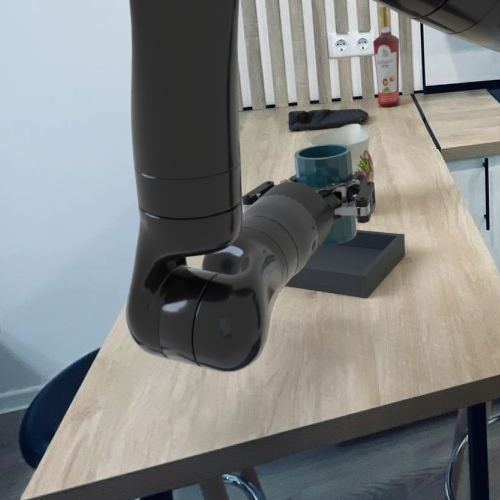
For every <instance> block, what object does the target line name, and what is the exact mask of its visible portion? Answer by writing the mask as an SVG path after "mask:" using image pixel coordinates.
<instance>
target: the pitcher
mask: <svg viewBox="0 0 500 500" xmlns="http://www.w3.org/2000/svg"><path fill="white" fill-rule="evenodd" d="M370 137H371V135H370V133H369V132H368V131H367V130H365V129H363V128H362V125H361V124H359V123H357V124H349V125H346V126H343V127H338V128H336V129H332V130H328V131H325V132H322V133H319V134H318V135H315V136H314V137H312V138H311V139H310V140H309V147H310V146H316V145H324V144H341V145H346V146H348V147H350V148H351V155H352V170H353V175H354V173H355V172H356V171H363V174H364V175H367V181H371V182H374V181H375V180H374V179H375V178H374V177H375V172H374V171H375V170H374V163H373V160H372V156H371V154H370V152H369V143H370V139H371V138H370Z"/></svg>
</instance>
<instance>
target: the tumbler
mask: <svg viewBox="0 0 500 500" xmlns="http://www.w3.org/2000/svg"><path fill="white" fill-rule="evenodd" d="M293 158H294V168H295V174H296V179H297V183H302V184H305V185H307V186H309V187H311V188H314V187H322V186H325V185H327V184H330V183H333V182H340V183H345V182H347V181H348V180H349V179H350V178H351V177H352V176H353V170H352V155H351V148H350V147H348V146H346V145H341V144H324V145H316V146H310V145H309V146H307V147H304V148H300V149H299V150H296V151H295V152H294V154H293ZM332 194H333V195H334V193H333V192H332ZM347 199H349V190H348V191H347ZM356 230H357V218H354V216H343V217H342V219H341V220H339V221H337V222H335V223H333V224H332V226H331V229H330V231H329V234H328V236H327V238H326V239H325V241H324V242H323V243H322V245H321V246H329V245H337V244H342V243H345V242H348V241H350V240H352V239H353V238H354V237H355V236H356V234H357V232H356Z"/></svg>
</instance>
